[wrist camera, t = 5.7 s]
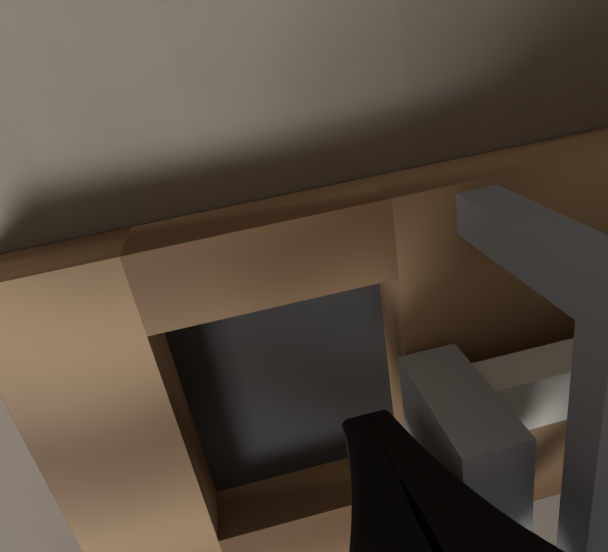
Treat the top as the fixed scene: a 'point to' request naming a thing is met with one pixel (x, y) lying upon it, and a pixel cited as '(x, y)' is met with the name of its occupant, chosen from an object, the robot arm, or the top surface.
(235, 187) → the top surface
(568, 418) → the grey tunnel
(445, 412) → the sliding frame
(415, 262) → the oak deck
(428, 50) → the top surface
